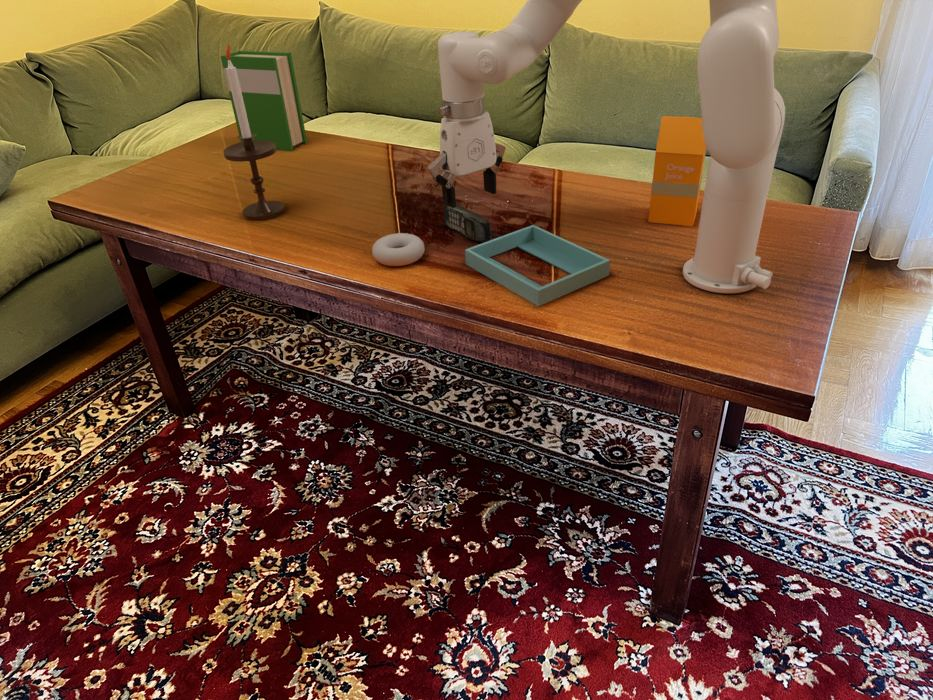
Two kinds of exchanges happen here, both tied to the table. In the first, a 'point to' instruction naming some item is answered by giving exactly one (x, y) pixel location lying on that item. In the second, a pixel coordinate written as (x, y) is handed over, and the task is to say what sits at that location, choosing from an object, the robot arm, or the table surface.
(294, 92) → the hardback book
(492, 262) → the rectangular frame
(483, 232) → the mobile phone
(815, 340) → the table surface
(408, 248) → the donut
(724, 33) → the robot arm
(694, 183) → the orange juice
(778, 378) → the table surface
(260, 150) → the candlestick
